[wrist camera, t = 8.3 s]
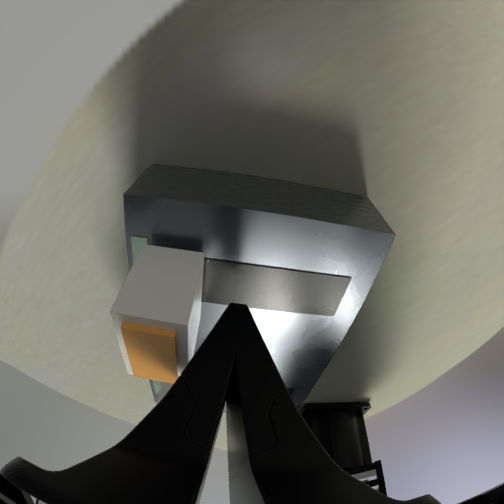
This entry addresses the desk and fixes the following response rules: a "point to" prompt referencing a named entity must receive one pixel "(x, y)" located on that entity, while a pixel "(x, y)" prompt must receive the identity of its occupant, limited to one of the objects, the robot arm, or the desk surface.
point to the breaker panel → (266, 256)
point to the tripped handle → (159, 312)
